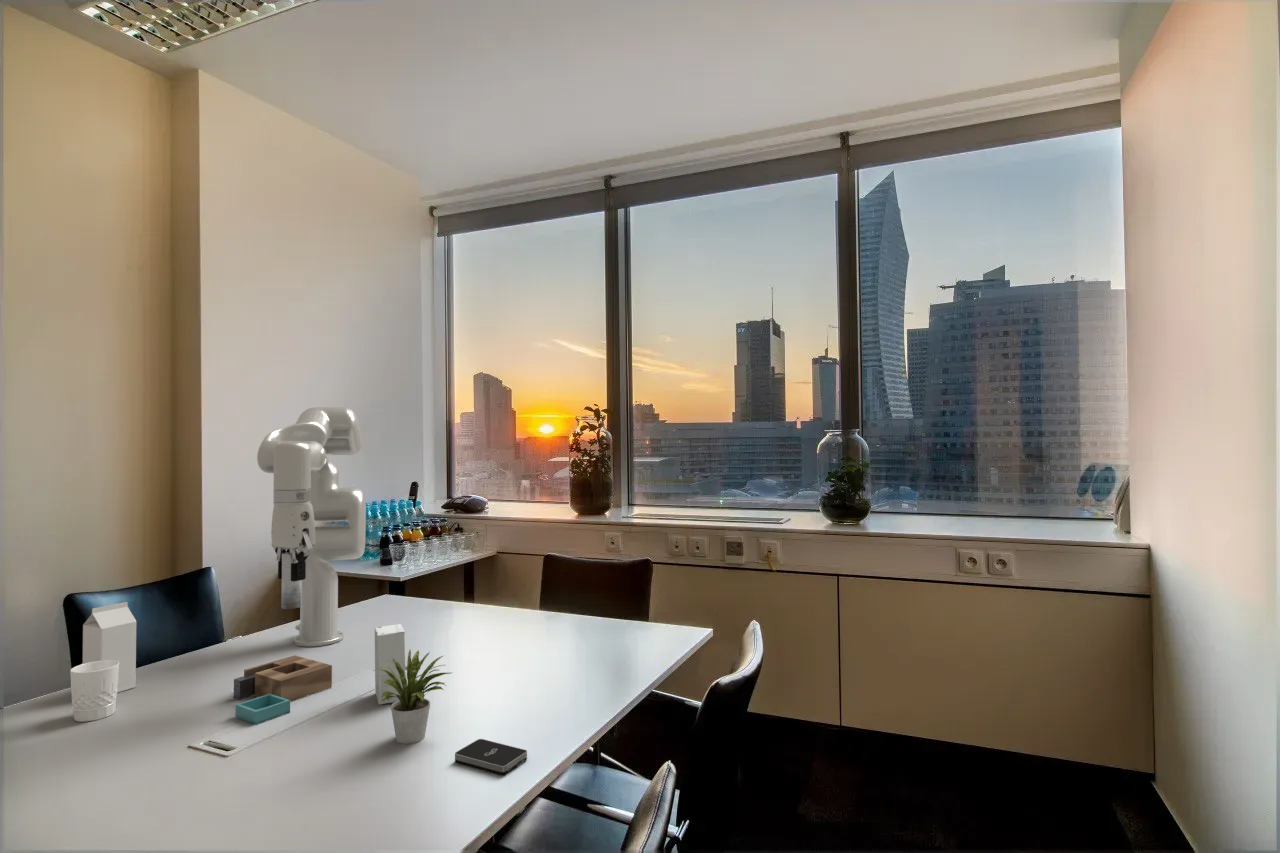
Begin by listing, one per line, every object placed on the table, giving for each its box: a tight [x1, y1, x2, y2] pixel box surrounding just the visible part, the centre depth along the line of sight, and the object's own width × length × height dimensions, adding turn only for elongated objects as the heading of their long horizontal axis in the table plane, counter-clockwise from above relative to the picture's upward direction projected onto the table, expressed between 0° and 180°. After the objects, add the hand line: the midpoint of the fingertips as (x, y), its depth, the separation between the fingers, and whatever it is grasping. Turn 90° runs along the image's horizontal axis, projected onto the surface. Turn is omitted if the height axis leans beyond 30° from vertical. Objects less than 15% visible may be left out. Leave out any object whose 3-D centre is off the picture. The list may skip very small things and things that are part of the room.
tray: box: [234, 694, 291, 725], centre depth 143 cm, size 7×7×2 cm
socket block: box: [243, 655, 333, 702], centre depth 157 cm, size 14×12×5 cm
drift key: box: [233, 673, 255, 701], centre depth 155 cm, size 2×8×4 cm, turn 148°
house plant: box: [372, 649, 452, 745], centre depth 131 cm, size 14×14×16 cm
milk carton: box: [82, 601, 137, 693], centre depth 157 cm, size 7×7×19 cm
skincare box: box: [374, 623, 407, 705], centre depth 153 cm, size 8×6×15 cm
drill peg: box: [281, 551, 302, 610], centre depth 157 cm, size 4×4×12 cm
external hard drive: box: [454, 738, 528, 777], centre depth 122 cm, size 7×11×2 cm, turn 63°
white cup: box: [70, 660, 119, 723], centre depth 143 cm, size 8×8×10 cm
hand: (291, 578), depth 157 cm, fingers closed on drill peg, 4 cm apart
